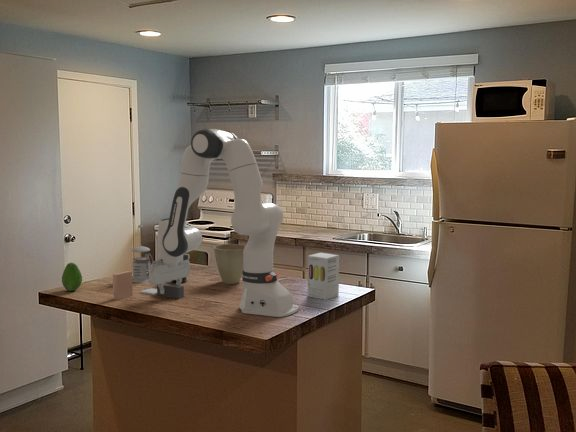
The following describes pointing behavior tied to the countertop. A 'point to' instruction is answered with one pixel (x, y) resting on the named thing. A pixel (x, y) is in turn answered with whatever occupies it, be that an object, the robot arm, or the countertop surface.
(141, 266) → the french press
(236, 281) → the plant pot
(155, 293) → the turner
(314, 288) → the supplement box
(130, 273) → the glazed tile
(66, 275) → the avocado
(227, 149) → the robot arm
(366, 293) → the countertop surface
